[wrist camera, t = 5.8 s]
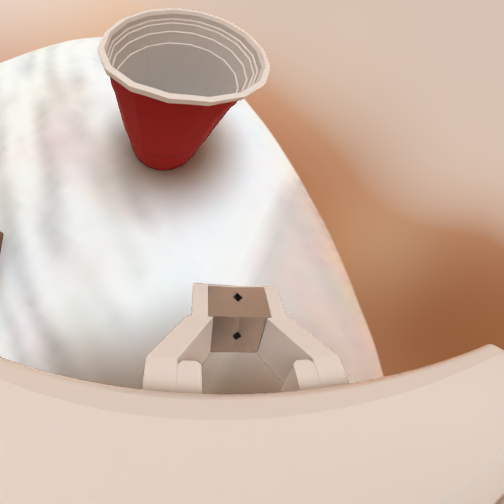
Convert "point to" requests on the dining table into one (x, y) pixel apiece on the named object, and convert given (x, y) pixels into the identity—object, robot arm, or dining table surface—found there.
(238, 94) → the plastic cup
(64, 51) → the dining table surface
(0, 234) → the walnut block
